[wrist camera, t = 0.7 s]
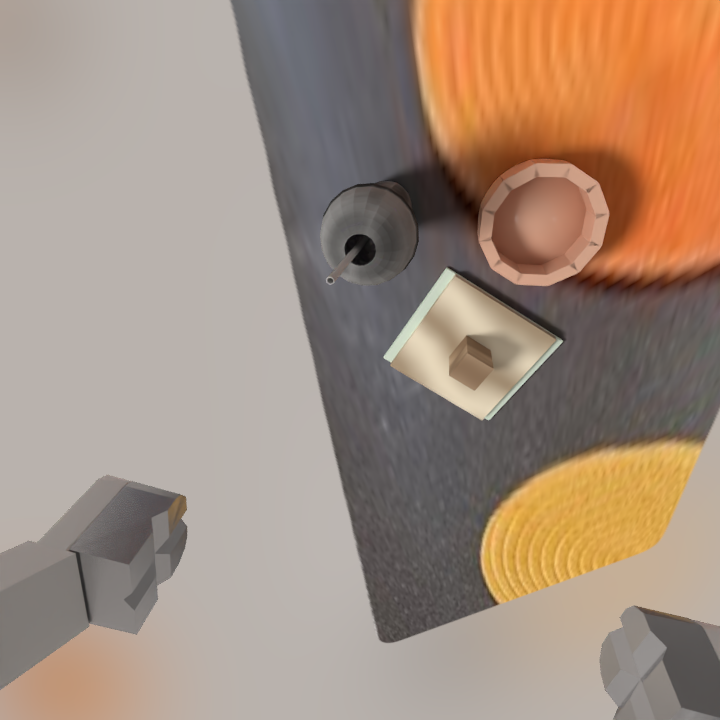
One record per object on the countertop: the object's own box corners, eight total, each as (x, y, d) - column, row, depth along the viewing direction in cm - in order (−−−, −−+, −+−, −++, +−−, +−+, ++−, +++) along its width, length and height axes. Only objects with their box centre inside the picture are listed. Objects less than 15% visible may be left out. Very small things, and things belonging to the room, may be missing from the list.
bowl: (525, 134, 40) (533, 137, 37) (620, 198, 41) (635, 207, 38) (456, 235, 45) (456, 246, 41) (542, 290, 46) (549, 305, 43)
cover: (455, 273, 46) (455, 290, 42) (555, 336, 48) (565, 358, 43) (391, 362, 52) (386, 384, 48) (481, 416, 53) (484, 442, 49)
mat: (446, 267, 47) (446, 268, 46) (562, 339, 48) (563, 341, 48) (383, 356, 52) (383, 357, 52) (488, 418, 54) (488, 420, 54)
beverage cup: (440, 220, 45) (433, 295, 27) (374, 257, 47) (329, 347, 30) (401, 148, 42) (367, 179, 25) (334, 191, 45) (261, 247, 28)
